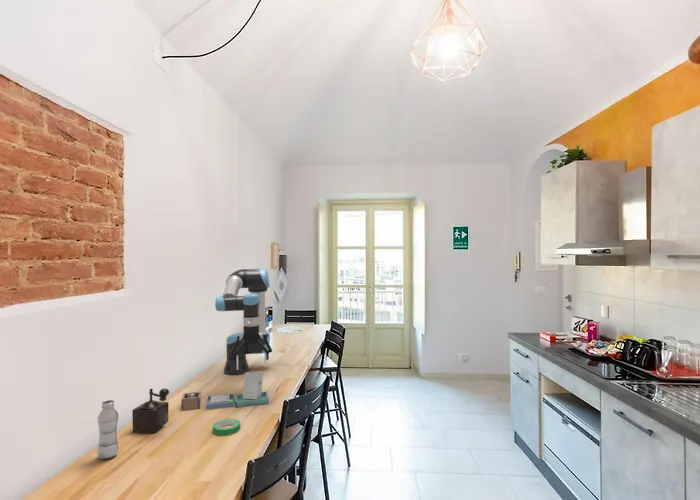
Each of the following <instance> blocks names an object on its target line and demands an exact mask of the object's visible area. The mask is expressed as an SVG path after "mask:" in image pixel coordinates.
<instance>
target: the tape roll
mask: <svg viewBox="0 0 700 500" xmlns="http://www.w3.org/2000/svg"><path fill="white" fill-rule="evenodd" d="M226 425H233V426H229V427H227V426H226ZM222 426H223V427H222ZM220 427H221V428H220ZM240 429H241V421H240V420H239V419H236V418H227V419H226V418H225V419H219V421H216V422H215V423H213V425H212V434H214V435H215V434H217V435H216V436H219V435H225V436H230V435H229V434H231V435H234V434H236V433H237V432H239V431H241V430H240ZM233 433H234V434H233Z"/></svg>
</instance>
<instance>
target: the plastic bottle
mask: <svg viewBox="0 0 700 500" xmlns="http://www.w3.org/2000/svg"><path fill="white" fill-rule="evenodd" d="M118 421H119V412H118V411H117V409H115V401H114V400H113V399H110V400H109V399H108V400H105V401H102V403H101V411H100V412H99V414H98V417H97V424H98V425H97V426H98V432H99V437H98V445H97V450H96V451H97V452H96V453H97V457H98V458H99V459H101V460H102V459H103V460H107V459H111V458H113V457H115V456H116V455H117V454H118V452H119V442H118V436H117V431H118Z"/></svg>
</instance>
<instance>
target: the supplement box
mask: <svg viewBox="0 0 700 500" xmlns="http://www.w3.org/2000/svg"><path fill="white" fill-rule="evenodd" d="M263 376H264V372H261V371H258V372H257V371H252V372H251V371H248V372H245V373H244V376H243V377H244V379H243V390H242V394H243V399H259V398H261V392H263V391H262V390H263V378H264V377H263Z"/></svg>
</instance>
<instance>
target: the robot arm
mask: <svg viewBox="0 0 700 500" xmlns="http://www.w3.org/2000/svg"><path fill="white" fill-rule="evenodd" d="M269 288H271V287H270V277H269V273H268V270H267V269H265V268H248V269H247V268H243V269H242V268H241V269H238V270H236V271H234V272H232V273H230V274H229V275H228V277H227V278H226V281H225V288H224V290H223V293H222V295H221V296H217V297H215V303H214V305H215V310H216V311H217V312H238V311H243V316H242V319H243V328H242V329H243V332H238V333H233V334H230V335H228V336H227V338H226V344H225V345H226V360H225V363H224V364H225V365H224V367H223V373H224V374H225V375H228V376H229V375H232V376H235V375H242V374H245V372H250V366H249V363H248V359H247V355H256V354H257V355H259V354H260V355H261V354H264V368H267V361H269V358H270V353H272V352H273V348H272V347H271V345H270V341H271V334H270V333H269V331H268V330H267V329H266V293H267V291H268V289H269ZM240 289H247V290H248V291H247V292H248V293H245V294H244V295H240V296H239V291H240Z"/></svg>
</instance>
